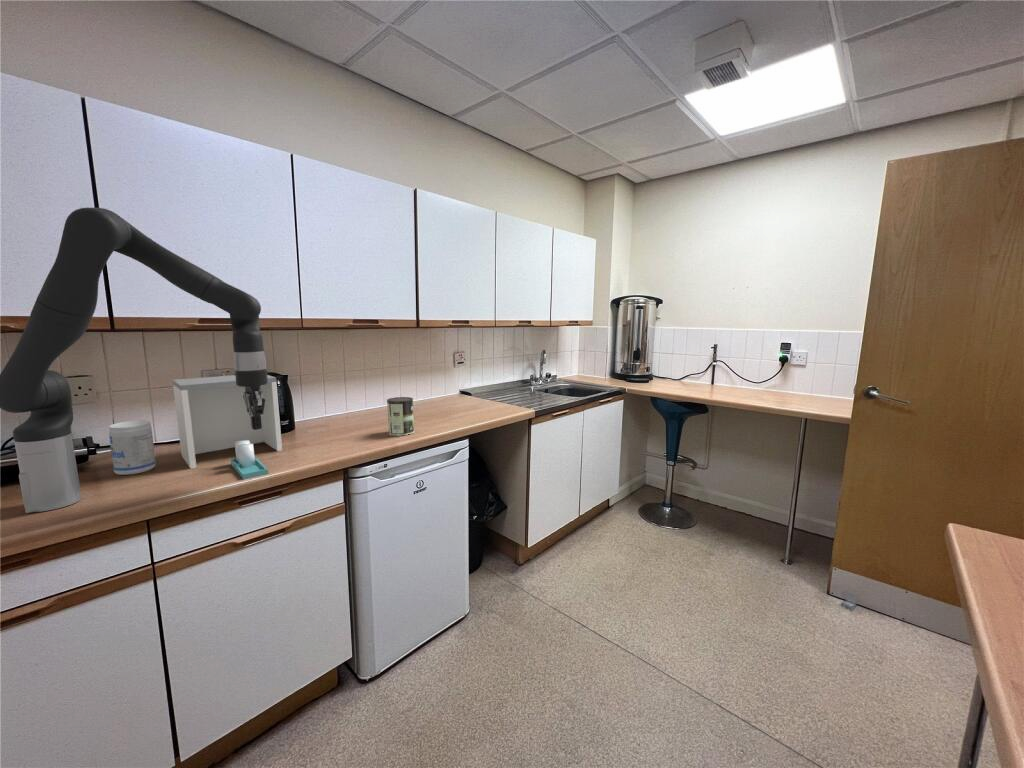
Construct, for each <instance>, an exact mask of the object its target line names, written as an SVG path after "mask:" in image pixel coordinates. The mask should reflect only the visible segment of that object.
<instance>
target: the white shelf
mask: <svg viewBox="0 0 1024 768" xmlns="http://www.w3.org/2000/svg"><path fill="white" fill-rule="evenodd" d="M267 378H268V383H267V384H265V385H261V386H260V388H261V391H262V392H263V398H264V399H265V405H264V412H263V414H262V415H261V424H262V428H261V429H257V430H254V429H252V426H251V417H250V415H249V413H248V412H247V408H246V405H245V401H244V398H243V395H244V392H245V387H240V386H237V385H236V377H235V374H234V375H232V374H231V375H230V374H229V375H221V376H220V375H219V376H207V377H195V378H194V377H193V378H182V379H181V378H180V379H172V388H173V395H174V396H173V397H174V406H175V412H176V420H177V428H178V430H177V431H178V435H179V438H178V439H179V444H180V445H179V446H180V453H181V457H182V458H183V460H184V461H185V463H186V465H188V468H190V469H194V468H195V469H196V468H197V460H196V455H199V454H205V453H210V452H214V451H215V452H216V451H220V450H221V451H222V450H227V449H231V448H232V449H233V448H235V442H237V441H243V440H249V441H250V443H251V444H253V445H254V444H260V443H265V444H266V445H268V446H269V447H271V448H272V449H274V450H276V451H277V452H280V451H283V442H282V433H281V432H282V431H281V430H282V429H281V420H280V410H279V409H280V407H279V406H280V405H279V396H278V385H277V383H278V382H277V376H276V377H275V376H272V375H269V374H267Z"/></svg>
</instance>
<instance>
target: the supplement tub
mask: <svg viewBox="0 0 1024 768" xmlns="http://www.w3.org/2000/svg"><path fill="white" fill-rule="evenodd" d="M108 429H109V430H108V436H109V443H110V444H109V446H110V452H111V459H112V460H111V461H112V468H113V472H114V473H115V474H116V475H119V476H124V475H125V476H126V475H127V476H128V475H137V474H140V473H141V474H142V473H145V472H148V471H151V470H153V469H154V468H155V467H156V454H155V448H154V447H155V446H154V445H155V444H154V439H153V438H154V436H153V428H152V425H151V421H149V420H128V421H122V422H117V423H113V424H110V425H109V426H108Z"/></svg>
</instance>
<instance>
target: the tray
mask: <svg viewBox="0 0 1024 768" xmlns="http://www.w3.org/2000/svg"><path fill="white" fill-rule="evenodd" d="M234 449H235V450H234V451H235V458H232V459H230V465H231V467H233V468H234V470H235V471H236V472H237V473H239V476H240V477H241V478H242V479H243V480H247V479H252V478H256V477H261V476H265V475H269V469H268V467H267V466H265V464H264V463H262V462H261V461H260V460H259V459H258V458H257V457H256V456H255V449H254V444H251V443H250V441H249V440H243V441H237V442H235V447H234Z"/></svg>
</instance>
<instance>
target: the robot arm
mask: <svg viewBox="0 0 1024 768" xmlns="http://www.w3.org/2000/svg"><path fill="white" fill-rule="evenodd" d="M114 252H116V253H119V254H121V255H123V256H126V257H129V258H131V259H133V260H135V261H137V262H139V263H141V264H143V265H144V266H146V267H148V268H149V269H151V270H152V271H154V272H155V273H157V274H158V275H160V277H162V278H164V280H166V281H168V282H169V283H171V284H172V285H174V286H175V287H177V288H179V289H180V290H182V291H184V292H186V294H187V293H188V294H189V295H192V296H193V297H195V298H196V299H199V300H201V301H203V302H205V303H208V304H212V305H214V306H215V307H217V308H219V309H220V310H223V311H224V312H226V313H228V314H229V319H230V324H231V329H232V346H233V368H234V375H235V377H236V385H237V386H240V387H245V392H244V395H243V398H244V401H245V405H246V408H247V412H248V413H249V415H250V417H251V426H252V429H254V430H257V429H261V428H262V424H261V415H262V414H263V412H264V405H265V399H264V398H263V392H262V391H261V388H260V386H261V385H265V384H267V383H268V378H267V375H268V370H267V359H266V355H265V348H264V347H265V346H264V339H263V334H262V332H261V326H260V314H261V311H262V306H261V303H260V301H258V299H257V298H255V297H254V296H253V295H251V294H249V293H247V292H246V291H243V290H242V289H239V288H237V287H236V286H233V285H231V284H228V283H227V282H225V281H223V280H221V279H220V278H219V277H217V276H215V275H214V274H212V273H210V272H209V271H206V270H205V269H203V268H201V267H200V266H198V265H196V264H194V263H193V262H190V261H189V260H186V259H185V258H184V257H182V256H180V255H178V254H177V253H174V252H172V251H170V250H169V249H167V248H165V247H164V246H163V245H161V244H160V243H158V242H156V241H154V240H153V239H152V238H150V237H149V236H147V235H146V234H144V233H143V232H142V231H141V230H139V229H138V228H136V227H135V226H134V225H133V224H131V223H129V222H128V221H127V220H126V219H124V218H123V217H121V216H120V215H119V214H117V213H116V212H114V211H112V210H109V209H107V208H103V207H81V208H77V209H75V210H73V211H72V212H71V213H70V214H69V215H68V216H67V218H66V220H65V222H64V226H63V231H62V235H61V239H60V243H59V247H58V251H57V254H56V257H55V261H54V263H53V265H52V267H51V269H50V270H49V273H48V274H47V276H46V279H45V280H44V282H43V284H42V286H41V289H40V290H39V293H38V294H37V297H36V300H35V301H34V304H33V307H32V309H31V312H30V315H29V317H28V320H27V323H26V325H25V327H24V330H23V332H22V334H21V336H20V338H19V340H18V343H17V344H16V347H15V348H14V351H13V352H12V355H11V356H10V357H9V359H8V361H7V363H6V364H5V366H4V367H3V369H2V371H1V372H0V409H1V410H3V411H4V412H7V413H13V414H17V413H19V414H20V413H28V412H30V415H29V416H28V418H27V419H26V420H25V421H24V422H23V423H21V424H19V425H17V426H16V427H15V428H14V429H13V430H12V437H13V441H14V446H15V448H14V449H15V452H16V457H17V462H18V463H17V464H18V468H19V469H18V470H19V474H18V479H19V485H20V486H19V487H20V489H21V490H20V491H21V496H22V500H23V501H22V502H23V506H24V512H25V514H30V513H37V512H46V511H47V512H48V511H52V510H57V509H60V508H64V507H67V506H70V505H73V504H75V503H78V502H79V501H81V500H82V490H81V487H80V479H79V474H78V467H77V466H78V465H77V462H76V461H77V460H76V455H75V449H74V443H73V436H72V429H71V427H72V424H73V421H74V411H73V398H72V391H71V387H70V384H69V381H68V380H67V378H66V377H65V376H64V375H62V373H60V372H59V371H56V370H52V369H50V367H51V365H53V363H54V361H55V360H56V359H58V357H59V356H61V355H62V354H63V353H64V352H65V351H67V350H69V348H70V347H71V346H73V345H74V344H75V343H76V342H77V341H79V340H80V339H81V337H83V336H84V334H85V333H86V331H87V330H88V328H89V326H90V323H91V321H92V318H93V316H94V314H95V311H96V309H97V304H98V298H99V297H98V296H99V282H100V276H101V274H102V271H103V270H104V268H105V266H106V264H107V263H108V260H109V259H110V257H111V255H112V254H113V253H114Z"/></svg>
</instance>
